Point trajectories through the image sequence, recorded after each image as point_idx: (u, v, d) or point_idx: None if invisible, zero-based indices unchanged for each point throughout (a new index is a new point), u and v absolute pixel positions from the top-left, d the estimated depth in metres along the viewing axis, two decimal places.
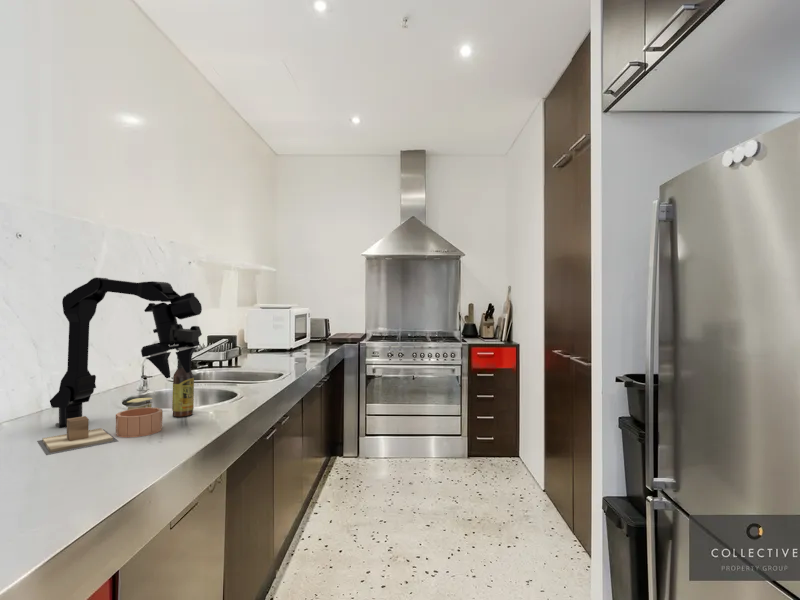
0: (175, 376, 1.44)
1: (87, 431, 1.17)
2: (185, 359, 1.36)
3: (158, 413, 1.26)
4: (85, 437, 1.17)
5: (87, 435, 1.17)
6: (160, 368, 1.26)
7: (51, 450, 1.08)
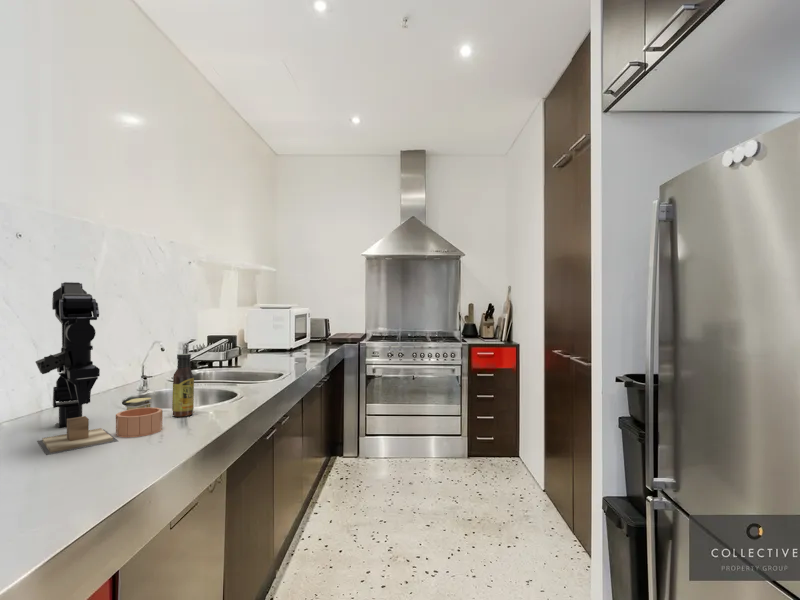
0: (175, 376, 1.44)
1: (87, 431, 1.17)
2: None
3: (158, 413, 1.26)
4: (85, 437, 1.17)
5: (87, 435, 1.17)
6: None
7: (51, 450, 1.08)
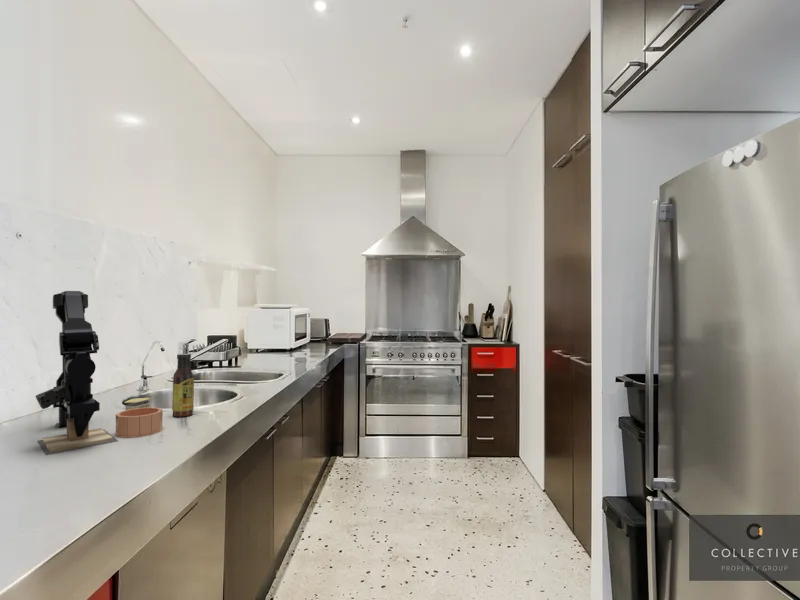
0: (175, 376, 1.44)
1: (87, 431, 1.17)
2: None
3: (158, 413, 1.26)
4: (85, 437, 1.17)
5: (87, 435, 1.17)
6: None
7: (51, 450, 1.08)
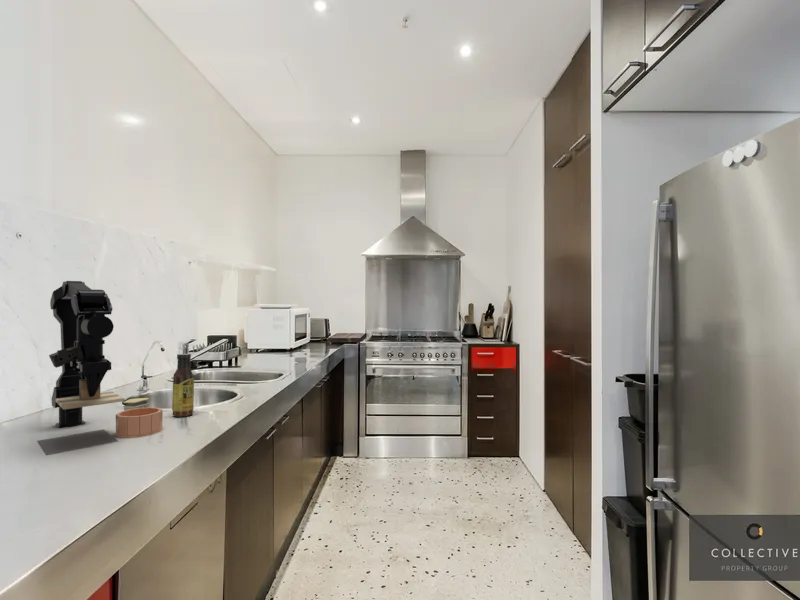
0: (175, 376, 1.44)
1: (99, 392, 1.19)
2: None
3: (158, 413, 1.26)
4: (97, 397, 1.18)
5: (99, 395, 1.19)
6: None
7: (64, 407, 1.10)
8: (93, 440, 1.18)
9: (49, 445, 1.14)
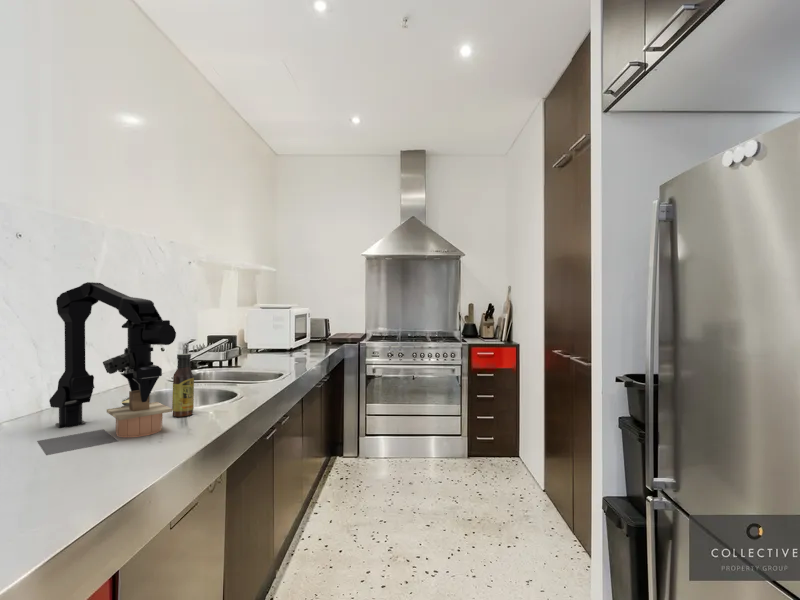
0: (175, 376, 1.44)
1: (148, 403, 1.26)
2: None
3: None
4: (146, 408, 1.26)
5: (148, 406, 1.26)
6: None
7: (119, 418, 1.17)
8: (93, 440, 1.18)
9: (49, 445, 1.14)
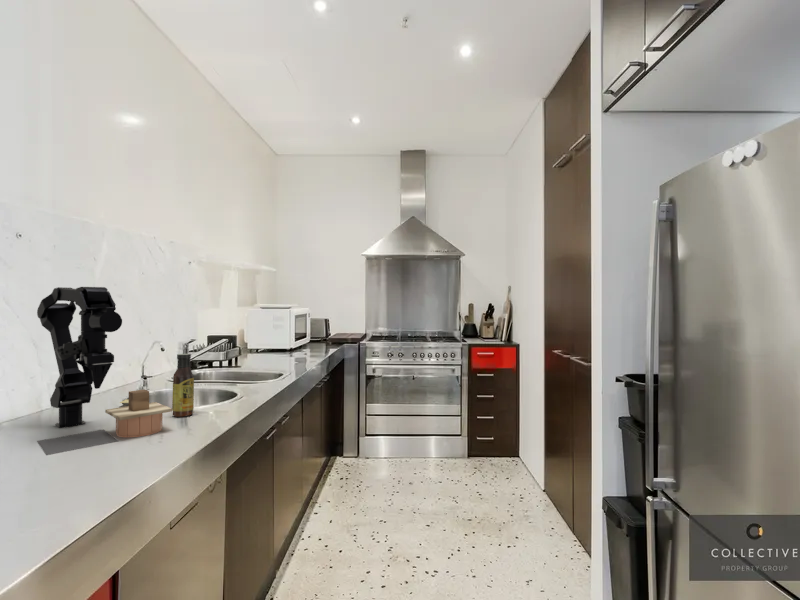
0: (175, 376, 1.44)
1: (148, 403, 1.26)
2: None
3: None
4: (146, 408, 1.26)
5: (148, 406, 1.26)
6: None
7: (120, 418, 1.17)
8: (93, 440, 1.18)
9: (49, 445, 1.14)
